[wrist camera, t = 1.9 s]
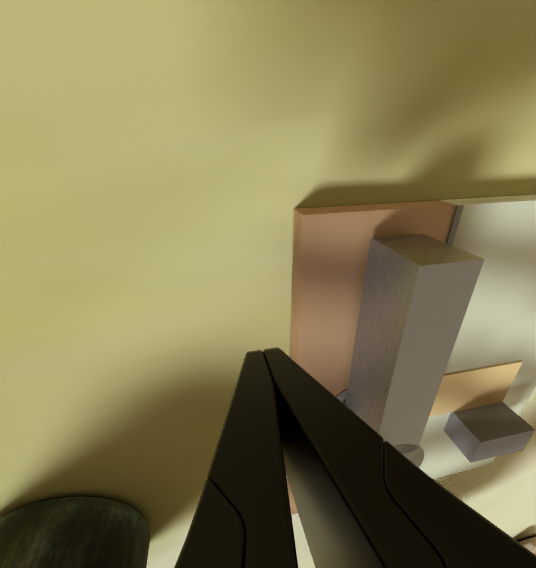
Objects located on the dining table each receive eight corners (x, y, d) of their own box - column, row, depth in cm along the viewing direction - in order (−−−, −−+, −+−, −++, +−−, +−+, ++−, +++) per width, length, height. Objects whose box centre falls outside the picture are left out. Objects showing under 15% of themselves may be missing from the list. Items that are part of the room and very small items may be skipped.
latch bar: (384, 430, 18) (423, 493, 15) (330, 442, 17) (358, 509, 14) (435, 232, 12) (517, 264, 9) (357, 238, 11) (415, 275, 8)
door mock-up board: (479, 450, 25) (518, 494, 22) (286, 496, 22) (299, 554, 19) (612, 189, 15) (718, 202, 12) (293, 208, 12) (325, 231, 9)
